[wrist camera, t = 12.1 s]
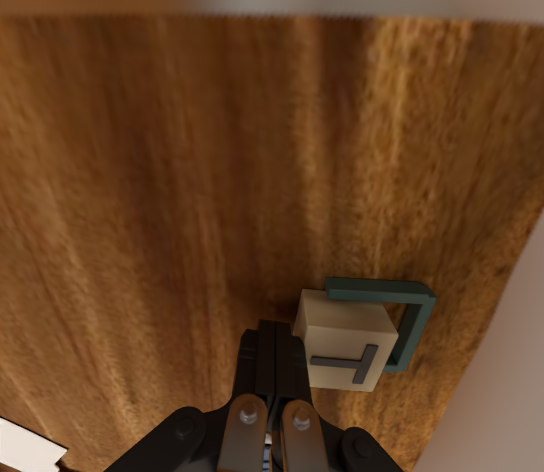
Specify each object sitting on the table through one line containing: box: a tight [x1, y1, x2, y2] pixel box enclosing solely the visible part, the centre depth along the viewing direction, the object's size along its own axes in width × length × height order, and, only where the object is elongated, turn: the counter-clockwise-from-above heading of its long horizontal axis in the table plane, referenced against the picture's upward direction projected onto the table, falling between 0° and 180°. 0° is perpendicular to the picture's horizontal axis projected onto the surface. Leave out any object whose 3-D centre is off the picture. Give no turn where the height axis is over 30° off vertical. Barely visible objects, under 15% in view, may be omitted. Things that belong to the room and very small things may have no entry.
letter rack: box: [325, 277, 437, 373], centre depth 14 cm, size 5×6×1 cm
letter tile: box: [293, 289, 398, 392], centre depth 13 cm, size 4×4×3 cm
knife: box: [0, 418, 67, 472], centre depth 20 cm, size 1×34×5 cm
